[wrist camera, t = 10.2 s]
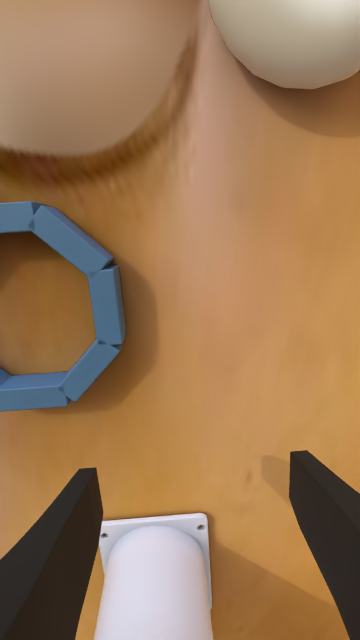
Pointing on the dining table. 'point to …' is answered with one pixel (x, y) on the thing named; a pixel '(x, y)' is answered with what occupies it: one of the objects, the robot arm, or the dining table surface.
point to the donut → (292, 39)
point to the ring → (105, 298)
